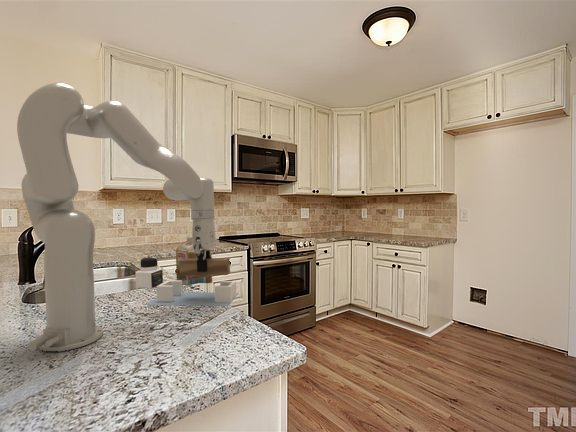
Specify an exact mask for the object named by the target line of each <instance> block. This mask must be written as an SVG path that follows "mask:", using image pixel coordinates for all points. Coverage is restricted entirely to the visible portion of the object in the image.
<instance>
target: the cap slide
mask: <svg viewBox="0 0 576 432" xmlns="http://www.w3.org/2000/svg"><path fill="white" fill-rule="evenodd" d="M155 288H156V290H155V291H156V298H157V302H173V301H174V296H181V295H182V292H183V283H182V280H177V279H176V280H173V279H172V280H169V279H167V280H166V281H163V283H162V284H160V285H158V286H156V287H155Z"/></svg>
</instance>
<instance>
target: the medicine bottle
mask: <svg viewBox="0 0 576 432" xmlns="http://www.w3.org/2000/svg"><path fill="white" fill-rule="evenodd" d="M163 275H164V274H163V268H158V258H157V257H153V256H148V257H143V258H142V259H140V270H137V271H135V288H137V289H139V288H140V289H153V288H156V286H158V285H160V284H162V283H164V277H163Z"/></svg>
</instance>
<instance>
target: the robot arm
mask: <svg viewBox="0 0 576 432" xmlns="http://www.w3.org/2000/svg"><path fill="white" fill-rule="evenodd" d="M84 103H85V101H84V99H83V97H82V95H81V94H80V92H79V91H78V90H77V89H76V88H75V87H73V85H70V84H68V83H63V82H53V83H49V84H45V85H43V86H40V87H39V88H38V89H36V90H35V91H33V92H32V93H31V94H30V95H29V96H27V98H26V100H25V101H24V102H23V104H22V105H21V108H20V110H19V113H18V116H17V123H16V124H17V125H16V126H17V127H16V130H17V131H16V133H17V138H18V139H17V140H18V143H19V148H20V151H21V155H22V159H23V163H24V165H25V171H26V173H25V174H24V176H23V178H22V180H21V193H22V198H23V200H24V204H25V206H26V210H27V212H28V216H29V220H30V222H31V225H32V228H33V231H34V233H35V236H36V237H37V239H39V240H40V241H41V242H42V243H43V244H44V255H43V256H44V257H43V259H44V260H43V274H44V276H43V278H44V294H45V297H44V298H45V316H46V318H45V319H46V320H45V321H46V328H43V329H42V334H41V335H40V337H37V338H35V339H33V340H31V341H29V342H28V343H27V348H28V350H30V351H36V350H37V349H39V350H40V351H42V350H43V351H42V352H46V351H58V352H64V351H65V350H66V351H70V350H75V349H79V348H81V347H84V346H87V345H90V344H92V343H94V342H96V341H98V340H99V339H100V338H101V337H102V336H103V334H104V329H103V327H102V326H99V325H96V305H95V304H96V303H95V273H94V250H95V242H96V241H95V239H96V228H95V226H94V222H93V220H92V219H91V218H90V217H89V216H88V215H87V214H86V213H84V212H82V211H80V210H76V209H75V207H74V206H75V205H74V202H73V199H74V198H75V197H76V196H77V194H78V193H79V186H80V185H79V182H78V181H79V180H78V179H77V176H76V175H77V174H76V173H75V168H74V165H73V162H72V158H71V155H70V151H69V146H68V141H67V140H68V139H67V134H70V135H74V136H75V135H77V136H83V137H88V138H95V139H96V138H97V139H110V138H111V140H113V142H115V143H116V144H117V146H119V147H120V148H121V149H122V151H124V152H125V153H126V155H127V156H129V157H130V159H132V161H133V162H135V163H136V164H138V165H140V166H143V167H144V168H149V169H150V170H153V171H156V172H158V173H160V174H162V175H163V176H164V177H166V178H167V180H166V181H164V183H163V186H162V191H163V194H164V196H165V197H166V198H167V199H169V200H172V201H175V202H176V201H177V202H178V201H180V202H181V201H190V220H191V221H192V227H191V228H192V230H191V233H192V237H191V238H192V245H193V249H194V250H195V252H194V253H195V254H196V259H197V271H198V272H206V271H207V259H206V258H211V250H213V249H214V248H215V247H216V245H217V242H216V241H217V239H216V228H215V221H214V220H215V192H214V190H215V189H214V181H213V179H211V178H209V177H208V178H207V177H200V175H199V174H197V172H196V170H194V168H193V167H191V165H190V164H189V163H188V162H187V161H186V160H184V159H183V158H182V157H181V156H179V155H178V154H177V153H175V152H173V151H172V150H170V149H168V148H167V147H165V146H164V145H162V144H161V143H160V142H159V141H158V140H156V138H155V137H154V135H152V134H151V133H150V131H148V130H147V128H146V127H145V126H144V125H143V123H141V121H140V120H139V119H138V118H137V117H136V116H135V115H134V113H132V111H131V110H130V109H129V108H128V107H127V106H126V105H125V104H123V103H122V102H120V101H117V100H112V99H111V100H106V101H103V102H101V103H99V104H98V105H96V106H92V105H87V104H84ZM200 249H202V250H200ZM66 351H65V352H66Z"/></svg>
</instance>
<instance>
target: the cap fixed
mask: <svg viewBox="0 0 576 432" xmlns="http://www.w3.org/2000/svg"><path fill="white" fill-rule="evenodd" d="M219 283H220V284H219V285H215V286H214V293H215V302H231V301H232V300H233V299H236V298H237V296H236V293H237V281H236V280H231V281H230V280H229V281H228V280H221V281H220V282H219ZM233 301H234V300H233ZM233 301H232V302H233ZM232 302H231V303H232Z"/></svg>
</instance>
